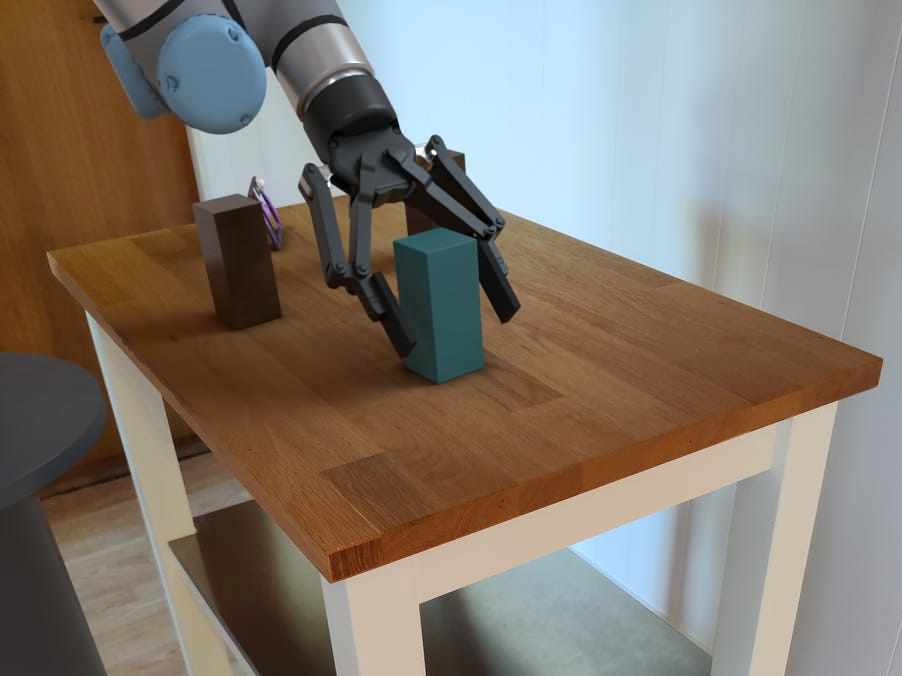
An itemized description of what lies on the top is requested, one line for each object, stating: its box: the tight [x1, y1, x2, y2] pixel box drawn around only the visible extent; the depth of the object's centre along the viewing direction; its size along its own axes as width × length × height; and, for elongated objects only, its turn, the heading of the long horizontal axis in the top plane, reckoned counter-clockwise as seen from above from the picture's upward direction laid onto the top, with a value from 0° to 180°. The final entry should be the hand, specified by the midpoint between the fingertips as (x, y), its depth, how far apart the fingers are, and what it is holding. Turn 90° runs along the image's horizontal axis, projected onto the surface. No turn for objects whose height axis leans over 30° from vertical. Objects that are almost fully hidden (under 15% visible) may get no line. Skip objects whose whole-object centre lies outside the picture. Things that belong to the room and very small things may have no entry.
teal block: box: [392, 227, 485, 385], centre depth 85 cm, size 5×5×11 cm
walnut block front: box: [191, 193, 283, 330], centre depth 98 cm, size 5×5×11 cm
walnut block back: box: [404, 148, 467, 237], centre depth 108 cm, size 5×5×11 cm
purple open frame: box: [246, 175, 284, 251], centre depth 120 cm, size 7×5×9 cm
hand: (461, 332), depth 84 cm, fingers open, 10 cm apart
